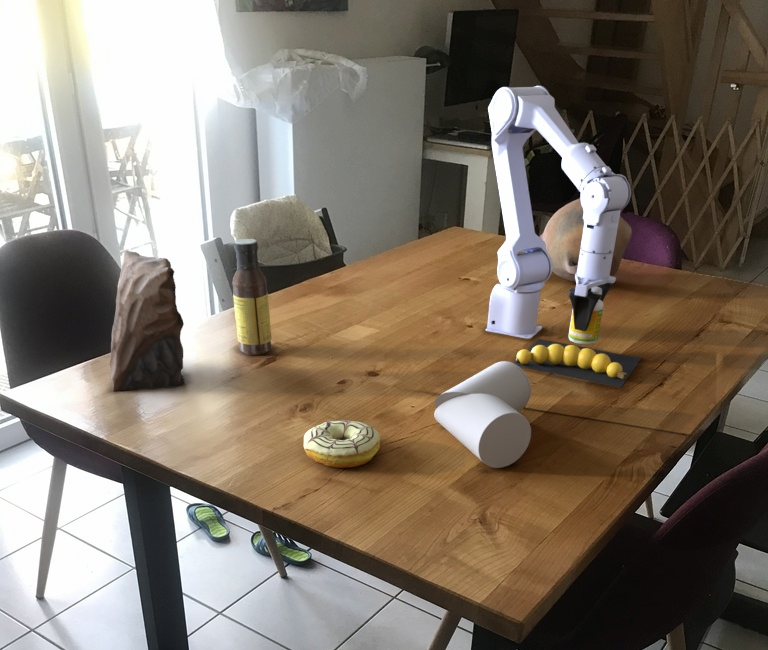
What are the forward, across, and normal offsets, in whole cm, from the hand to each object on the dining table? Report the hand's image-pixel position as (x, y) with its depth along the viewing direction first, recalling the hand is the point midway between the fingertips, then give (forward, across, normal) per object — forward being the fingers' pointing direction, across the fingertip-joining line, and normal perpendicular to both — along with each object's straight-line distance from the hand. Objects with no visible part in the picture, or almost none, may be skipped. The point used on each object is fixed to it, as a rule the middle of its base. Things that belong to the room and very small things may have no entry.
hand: (584, 325), depth 148 cm
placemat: (+6, -4, 0) cm, 7 cm away
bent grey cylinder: (+6, -40, +3) cm, 40 cm away
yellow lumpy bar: (+6, -8, 0) cm, 9 cm away
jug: (+6, +50, +19) cm, 54 cm away
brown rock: (+6, -50, +62) cm, 80 cm away
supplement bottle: (+3, 0, 0) cm, 3 cm away
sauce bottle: (+6, -28, +54) cm, 61 cm away
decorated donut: (+6, -56, +19) cm, 60 cm away
